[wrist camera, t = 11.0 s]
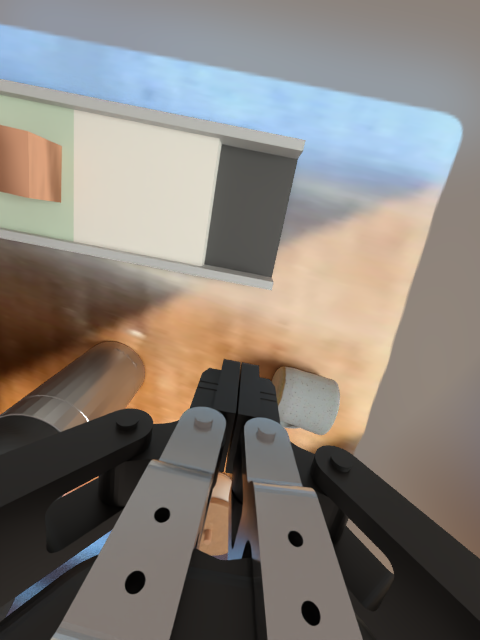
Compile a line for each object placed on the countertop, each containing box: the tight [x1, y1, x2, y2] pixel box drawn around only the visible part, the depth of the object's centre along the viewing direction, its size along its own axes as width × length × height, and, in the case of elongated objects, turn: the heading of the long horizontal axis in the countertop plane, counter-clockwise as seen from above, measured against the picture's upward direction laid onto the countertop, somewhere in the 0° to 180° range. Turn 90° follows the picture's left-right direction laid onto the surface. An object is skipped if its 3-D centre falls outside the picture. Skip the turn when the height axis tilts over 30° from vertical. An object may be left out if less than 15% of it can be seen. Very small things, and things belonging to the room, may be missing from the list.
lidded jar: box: [199, 472, 232, 555], centre depth 44 cm, size 11×11×9 cm
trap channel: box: [0, 79, 305, 290], centre depth 33 cm, size 44×16×4 cm, turn 79°
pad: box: [0, 95, 74, 242], centre depth 34 cm, size 10×14×2 cm
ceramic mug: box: [271, 367, 340, 435], centre depth 39 cm, size 11×8×8 cm
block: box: [0, 125, 62, 203], centre depth 30 cm, size 6×6×5 cm
